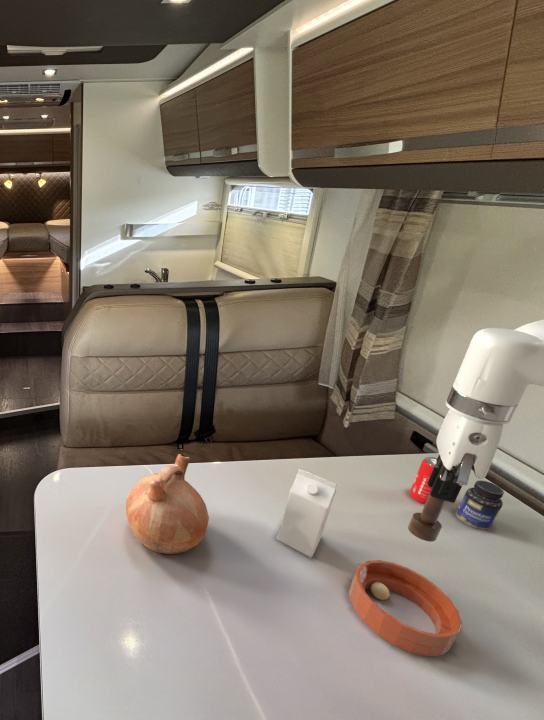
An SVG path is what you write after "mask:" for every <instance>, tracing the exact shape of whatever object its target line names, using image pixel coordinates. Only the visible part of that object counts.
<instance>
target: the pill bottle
mask: <svg viewBox="0 0 544 720" xmlns="http://www.w3.org/2000/svg"><path fill="white" fill-rule="evenodd" d="M504 494H505V492H504V490H503V489H502V488H501V487H500V486H498V485H497V484H495V483H493V482H490V481H487V480H482V479H480V480H479V479H478V480H477V481H475V482H474V485H473V487H469V488H467V490H466V491H465V493H464V494H463V495H464V496H463V498H462V500H461V501H460V503H459V505H458V507H457V509H456V512H455V517H456V518H457V519H458V520H459V521H460V522H462V523H463V524H465V525H466V526H469V527H471V528H473V529H476V530H478V531H479V530H480V531H488V530H490V529H491V527H492V526H493V524H494V522H495V521H496V519H497V516H498V515H499V513H500V511H501V509H502V507H503V506H504V504H503V503H504V502H503V500H502V498H503V496H504Z"/></svg>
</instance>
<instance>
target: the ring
mask: <svg viewBox="0 0 544 720" xmlns="http://www.w3.org/2000/svg"><path fill="white" fill-rule="evenodd" d="M375 582H379V583H382V584H384V585H385V586H386V587H387V588H388V590H389V591H392V592H395V593H398V594H400V595H401V596H403V597H405V598H407V599H409V600H410V601H411V602H413V603H414V604H415V605H417V606H418V607H419V608H420V609H421V610H422V611H423V612H424V613H425V614H426V615H427V616H428V617H429V619H430V621H431V622H432V623H433V625H434V628H435V633H434V632H433V633H432V632H428V631H423V630H419V629H417V628H414V627H412V626H410V625H408V624H405V623H403V622H401V621H400V620H398V619H397V618H395V617H393V616H392V615H390V614H389V613H387V612H386V611H385V610H384V609H383V608H381V607H380V606H379V605H378V604H377V603H375V601H373V599H372V598H371V597H370V595H369V594H368V593H367V592H366V590H368V589H370V587H371V585H372V584H373V583H375ZM348 592H349V593H348V595H349V598H348V599H349V601H350V603H351V605H352V607H353V610H354V612H355V613H356V614H357V615H358V617H359V618H360V619H361V620H362V622H363V623H364V624H365V625H366V626H368V627H369V628H370V630H372V631H373V632H374V633H375V634H376V635H377V636H379V637H381V638H382V639H383V640H385V641H387V642H388V643H389V644H391V645H392V646H395V647H397V648H399V649H401V650H404V651H406V652H408V653H411V654H415V655H419V656H423V657H427V658H429V657H440V656H443V655H445V653H447V652H449V651H450V649H451V647H452V646H453V644H454V642H455V640H456V638H457V637H458V635H459V633H460V631H461V627H462V624H463V622H462V618H461V614H460V611H459V610H458V608H457V606H456V605H455V604H454V602H453V601H452V599H451V597H449V596H448V595H447V594H446V593H445V592H444V591H443V590H442V589H441V588H440V587H439V586H437V585H436V584H434V583H433V581H431V580H429V579H428V578H426V577H425V576H423V575H422V574H420V573H418V572H416V571H414V570H412V569H411V568H408V567H405V566H403V565H401V564H398V563H395V562H391V561H387V560H382V559H381V560H380V559H375V560H367V561H364V562H363V563H360V564H359V566H358V567H357V569H356V570H355V573H354V576H353V578H352V580H351V584H350V586H349V589H348Z"/></svg>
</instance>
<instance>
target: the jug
mask: <svg viewBox="0 0 544 720" xmlns="http://www.w3.org/2000/svg"><path fill="white" fill-rule="evenodd" d="M189 464H190V457H189V456H186V455H185V454H182V453H178V454H177V456H176V458H175V461H174V464H173V465H166V466H165V467H164V468H162V469H161V470H160V471H159V472H158V473H157V472H156V473H151V474H148V475H146V476H143V477H142V478H141V479H139V480H138V481H137V482H136V483H134V484H133V486H132V487H131V489H130V491H129V492H128V494H127V497H126V501H125V511H126V512H125V513H126V518H127V522H128V523H127V524H128V525H129V527H130V529H131V531H132V534H133V535H134V536H135V538H136V539H137V541H139V542H140V543H141V544H142V545H143V546H144V547H146V548H147V549H148V550H150V551H153V552H156V553H159V554H165V555H173V554H179V553H180V554H181V553H184V552H187V551H189V550H191V549H192V548H195V547H196V546H198V544H199V543H200V542H202V540H203V539H204V537H205V536H206V533H207V531H208V526H209V521H210V517H209V512H208V508H207V505H206V503H205V501H204V499H203V497H202V496H201V494H200V493H199V491H198V490H197V489H195V488H194V486H193V485H192V484H191V483H189V482H188V481H187V480H186V477H185V476H186V472H187V470H188V466H189Z"/></svg>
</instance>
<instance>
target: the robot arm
mask: <svg viewBox="0 0 544 720" xmlns="http://www.w3.org/2000/svg"><path fill="white" fill-rule="evenodd" d="M528 385H536V386H540V387H544V319H540V320H536V321H532V322H528V323H525V324H523V325H521V326H518V327H517V328H515V329H510V328H503V327H486V328H482V329H480V330H478V331H476V332H475V333H474V335H473V336H472V338H471V340H470V342H469V346H468V347H467V349H466V353H465V355H464V357H463V359H462V363H461V364H460V367H459V369H458V372H457V374H456V376H455V379H454V382H453V384H452V386H451V389H450V391H449V393H448V396H447V399H446V401H445V406H446V407H447V408H448V411H447V413H446V415H445V417H444V419H443V421H442V423H441V426H440V427H439V431H438V433H437V436H436V440H435V441H436V442H435V443H436V447H437V451H438V455H437V457H436V458H437V461H436V464H435V465H436V467H434V468H433V470H432V473H431V475H430V477H429V480H428V482H427V484H428V486H429V487H432V489H431V491H430V495H431V496H432V497H435V498H438V499H442V500H445V501H446V502H448V503H451V504H453V503H455V502H456V501H457V498H458V496H459V494H460V492H461V489H462V487H464V486H468V483H469V479H470V475H471V471H472V472H473V473H474V477H475V478H478V480H479V479H480V480H483V479H485V478H486V477H487V475H488V472H489V470H490V468H491V465H492V464H493V463H492V462H493V460H494V458H495V455H496V453H497V451H498V447H499V445H500V442H501V437H502V433H503V429H504V425H507V424H509V423H510V422H511V420H512V418H513V416H514V414H515V411H516V410H517V407H518V405H519V403H520V402H521V400H522V397H523V396H524V394H525V392H526V389H527V387H528ZM442 465H444V468H443V470H442V473H441V475H440V477H438V474H439V471H440V469H441V467H442ZM438 467H439V468H438ZM450 470H452V471H455V472H457V473H456V474H454V473H449V471H450Z"/></svg>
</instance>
